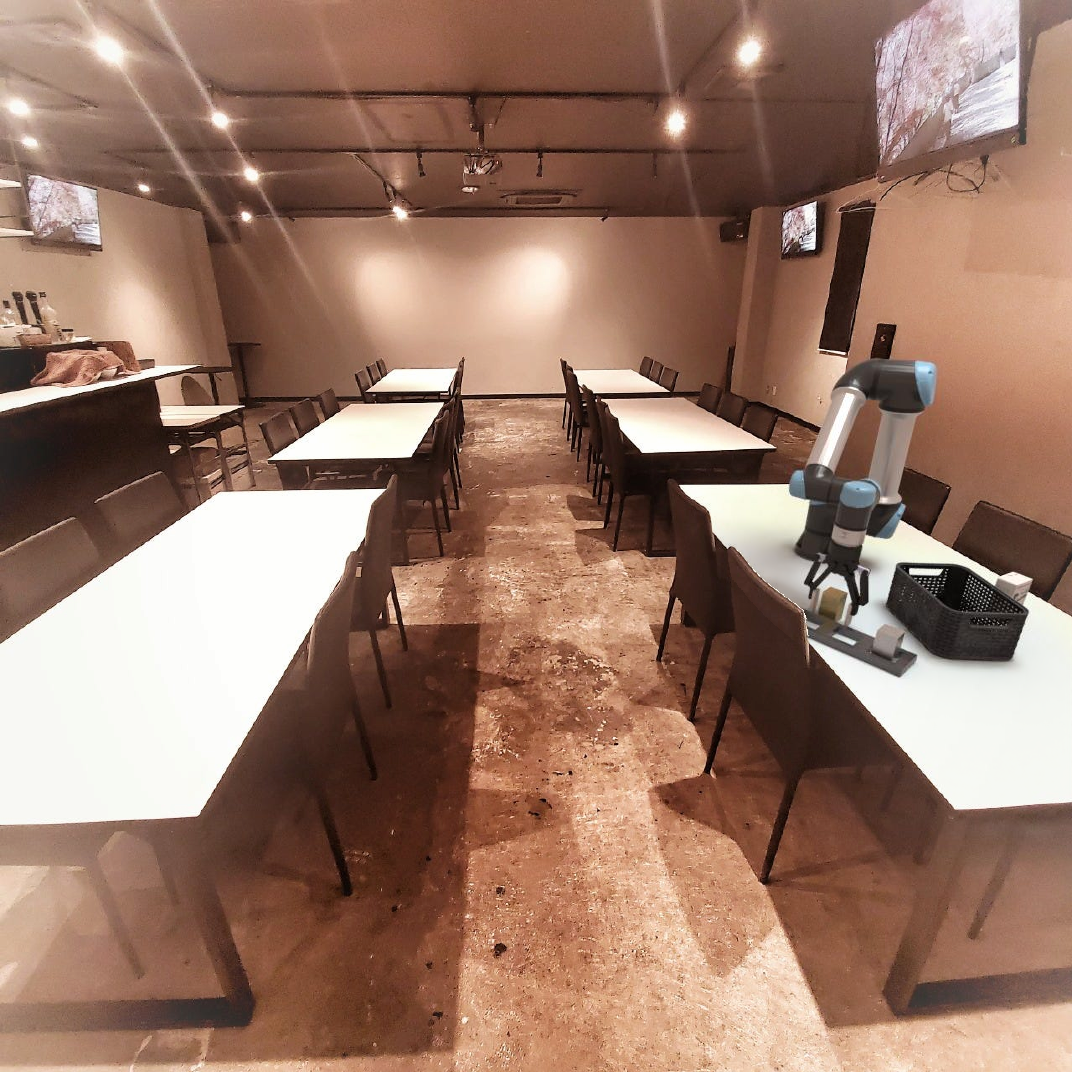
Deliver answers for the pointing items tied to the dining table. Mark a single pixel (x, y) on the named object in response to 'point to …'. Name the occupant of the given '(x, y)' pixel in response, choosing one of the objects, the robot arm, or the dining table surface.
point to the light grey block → (888, 642)
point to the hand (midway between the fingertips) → (829, 617)
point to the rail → (856, 644)
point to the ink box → (1013, 587)
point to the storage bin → (956, 612)
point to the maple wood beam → (832, 604)
